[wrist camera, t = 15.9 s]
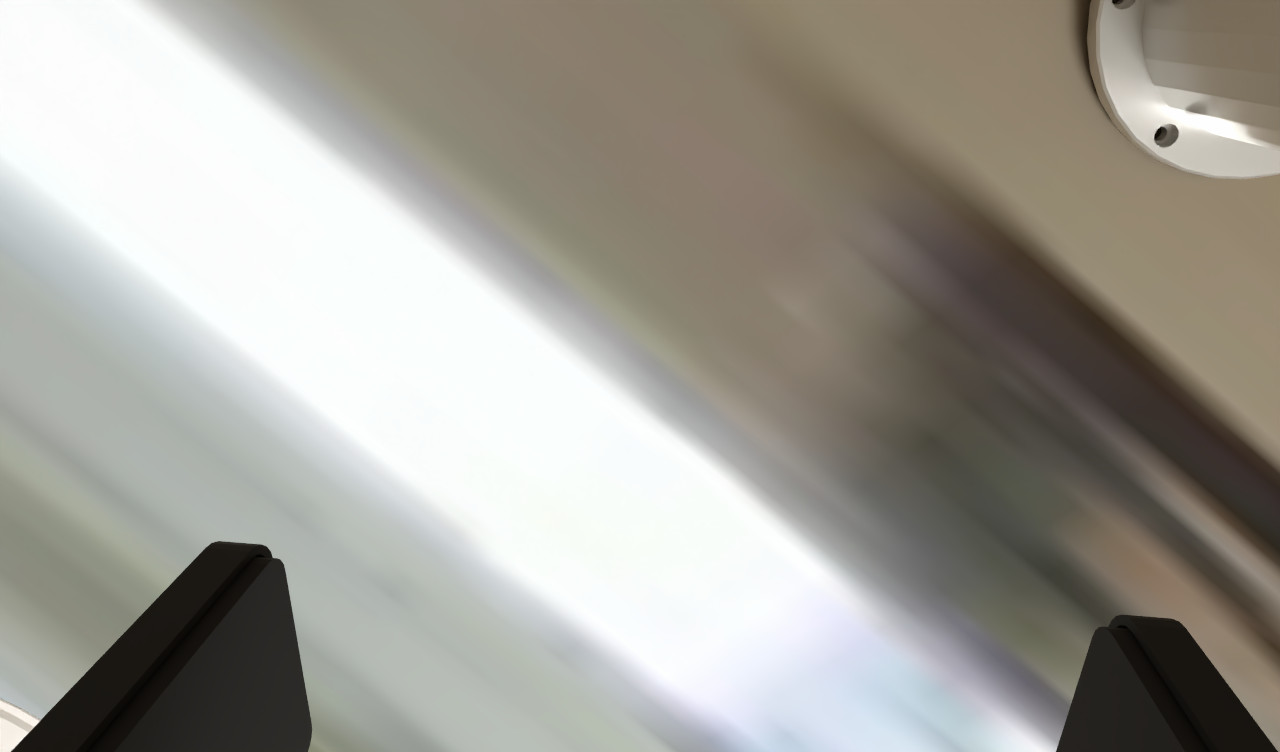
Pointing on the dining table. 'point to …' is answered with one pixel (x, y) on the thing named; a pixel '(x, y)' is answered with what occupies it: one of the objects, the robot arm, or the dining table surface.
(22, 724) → the birthday cake
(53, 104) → the dining table surface
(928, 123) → the dining table surface
